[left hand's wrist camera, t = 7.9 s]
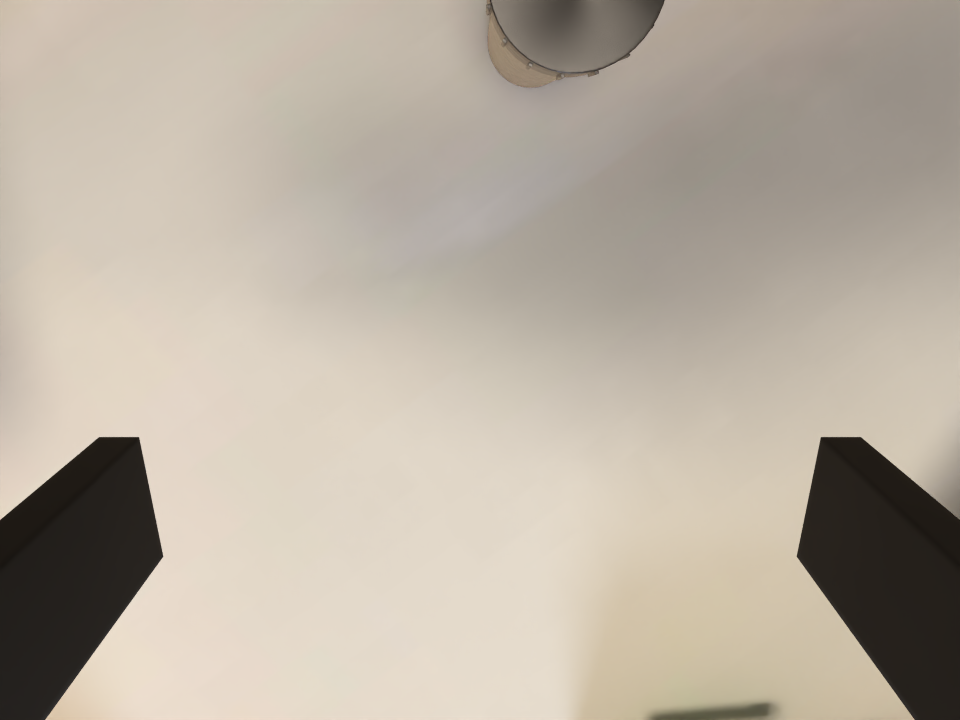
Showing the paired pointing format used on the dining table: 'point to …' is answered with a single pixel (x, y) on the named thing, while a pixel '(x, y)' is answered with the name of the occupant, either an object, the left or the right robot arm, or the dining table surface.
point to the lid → (572, 32)
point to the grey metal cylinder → (513, 64)
